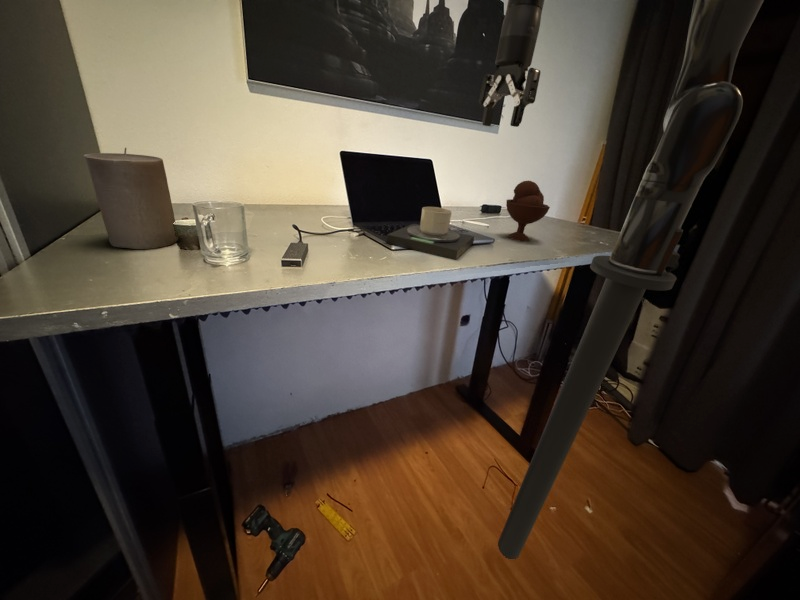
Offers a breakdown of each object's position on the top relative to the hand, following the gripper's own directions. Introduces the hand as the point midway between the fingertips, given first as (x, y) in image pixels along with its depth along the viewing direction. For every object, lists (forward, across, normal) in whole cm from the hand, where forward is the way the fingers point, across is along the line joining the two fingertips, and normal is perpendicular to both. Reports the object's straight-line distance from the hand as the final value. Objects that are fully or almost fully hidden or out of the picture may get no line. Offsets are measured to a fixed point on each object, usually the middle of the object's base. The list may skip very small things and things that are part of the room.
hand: (499, 126), depth 75 cm
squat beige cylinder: (+23, -3, +17) cm, 29 cm away
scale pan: (+24, -3, +17) cm, 30 cm away
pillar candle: (+26, +10, +71) cm, 76 cm away
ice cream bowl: (+26, -4, -12) cm, 29 cm away
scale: (+26, -3, +17) cm, 31 cm away
